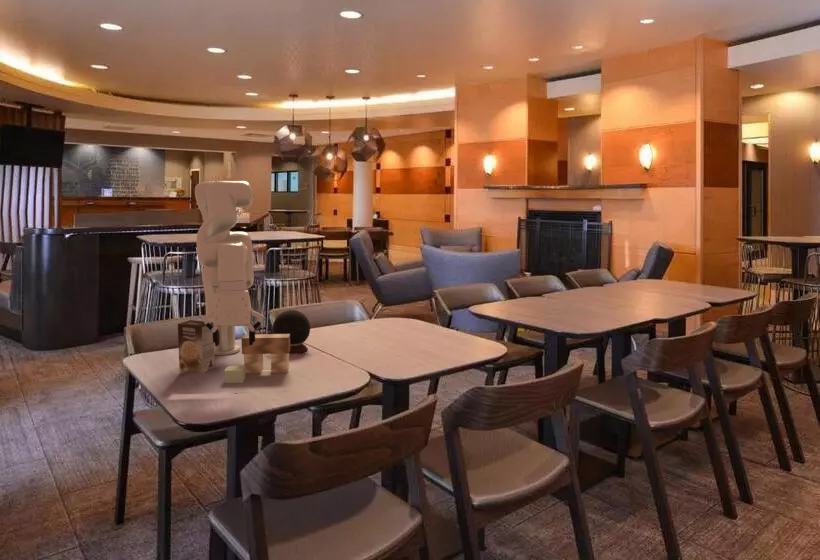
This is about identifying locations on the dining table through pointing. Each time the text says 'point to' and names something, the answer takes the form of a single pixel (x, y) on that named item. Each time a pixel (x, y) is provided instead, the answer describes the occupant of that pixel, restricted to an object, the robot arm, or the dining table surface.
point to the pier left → (253, 363)
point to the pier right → (279, 363)
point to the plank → (266, 344)
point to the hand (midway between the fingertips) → (234, 344)
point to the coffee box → (195, 347)
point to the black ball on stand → (293, 329)
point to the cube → (235, 374)
